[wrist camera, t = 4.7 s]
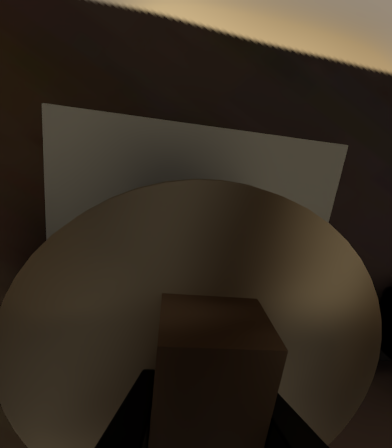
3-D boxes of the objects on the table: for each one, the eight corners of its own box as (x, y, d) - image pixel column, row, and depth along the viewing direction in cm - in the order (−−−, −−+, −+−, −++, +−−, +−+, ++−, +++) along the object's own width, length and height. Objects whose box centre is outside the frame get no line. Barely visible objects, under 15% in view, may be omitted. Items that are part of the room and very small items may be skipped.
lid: (412, 201, 8) (538, 224, 5) (319, 476, 12) (367, 582, 9) (-9, 153, 7) (-141, 151, 4) (20, 484, 10) (-42, 616, 7)
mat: (338, 146, 16) (348, 145, 15) (282, 368, 21) (287, 379, 20) (50, 106, 14) (41, 103, 13) (57, 362, 19) (50, 373, 18)
